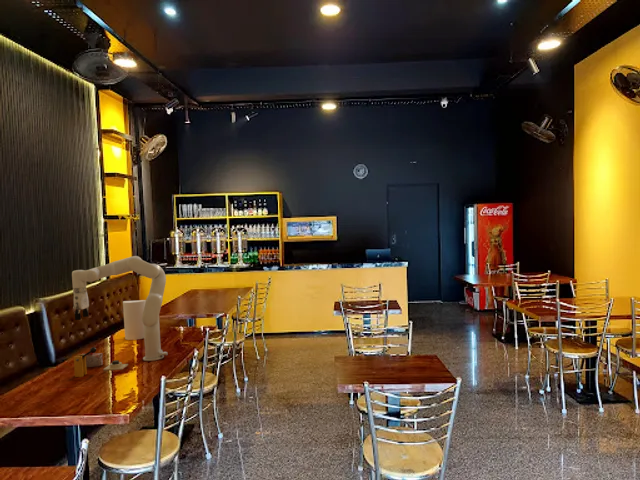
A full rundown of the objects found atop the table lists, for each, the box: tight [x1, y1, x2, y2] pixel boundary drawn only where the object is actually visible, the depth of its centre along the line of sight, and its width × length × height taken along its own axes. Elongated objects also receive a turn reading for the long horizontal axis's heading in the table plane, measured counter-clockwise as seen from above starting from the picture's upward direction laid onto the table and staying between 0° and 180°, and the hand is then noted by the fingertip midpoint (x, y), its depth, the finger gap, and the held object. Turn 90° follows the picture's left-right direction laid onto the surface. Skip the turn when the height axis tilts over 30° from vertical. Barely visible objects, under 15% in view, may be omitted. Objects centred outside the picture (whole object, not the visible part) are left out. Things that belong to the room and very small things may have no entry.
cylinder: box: [122, 299, 146, 341], centre depth 381 cm, size 17×17×28 cm
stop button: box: [111, 359, 120, 365], centre depth 294 cm, size 4×4×2 cm
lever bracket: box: [73, 353, 88, 378], centre depth 281 cm, size 10×8×13 cm
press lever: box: [81, 346, 97, 360], centre depth 281 cm, size 12×3×3 cm
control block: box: [103, 361, 129, 372], centre depth 294 cm, size 11×9×4 cm
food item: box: [86, 352, 104, 368], centre depth 301 cm, size 14×8×10 cm, turn 92°
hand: (81, 318), depth 305 cm, fingers open, 9 cm apart
